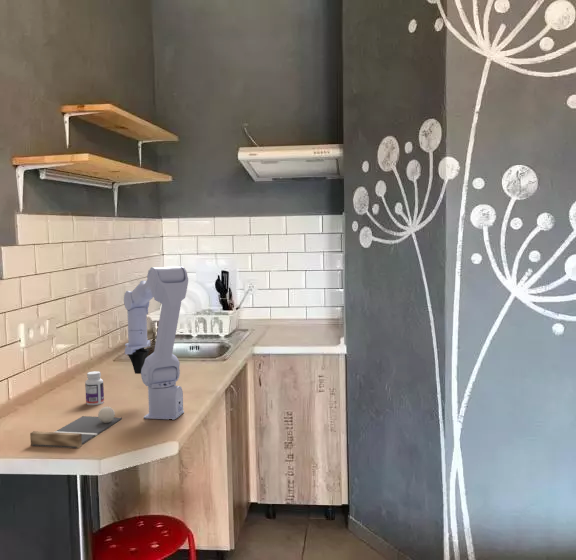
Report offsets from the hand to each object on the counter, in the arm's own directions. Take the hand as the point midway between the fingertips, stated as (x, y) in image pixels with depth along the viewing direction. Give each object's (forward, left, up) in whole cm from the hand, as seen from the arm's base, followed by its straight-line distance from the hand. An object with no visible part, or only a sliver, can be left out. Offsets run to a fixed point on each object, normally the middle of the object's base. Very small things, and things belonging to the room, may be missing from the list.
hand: (138, 373), depth 199 cm
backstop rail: (+4, +41, -9) cm, 42 cm away
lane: (+4, +30, -9) cm, 31 cm away
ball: (+2, +22, -6) cm, 23 cm away
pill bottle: (+14, +2, -10) cm, 17 cm away
